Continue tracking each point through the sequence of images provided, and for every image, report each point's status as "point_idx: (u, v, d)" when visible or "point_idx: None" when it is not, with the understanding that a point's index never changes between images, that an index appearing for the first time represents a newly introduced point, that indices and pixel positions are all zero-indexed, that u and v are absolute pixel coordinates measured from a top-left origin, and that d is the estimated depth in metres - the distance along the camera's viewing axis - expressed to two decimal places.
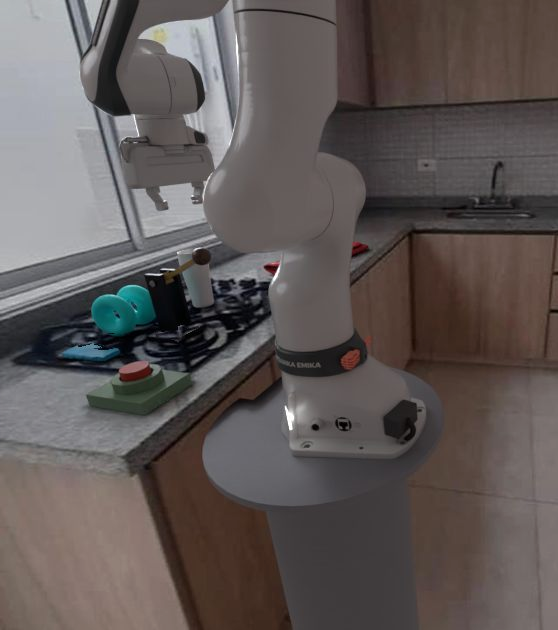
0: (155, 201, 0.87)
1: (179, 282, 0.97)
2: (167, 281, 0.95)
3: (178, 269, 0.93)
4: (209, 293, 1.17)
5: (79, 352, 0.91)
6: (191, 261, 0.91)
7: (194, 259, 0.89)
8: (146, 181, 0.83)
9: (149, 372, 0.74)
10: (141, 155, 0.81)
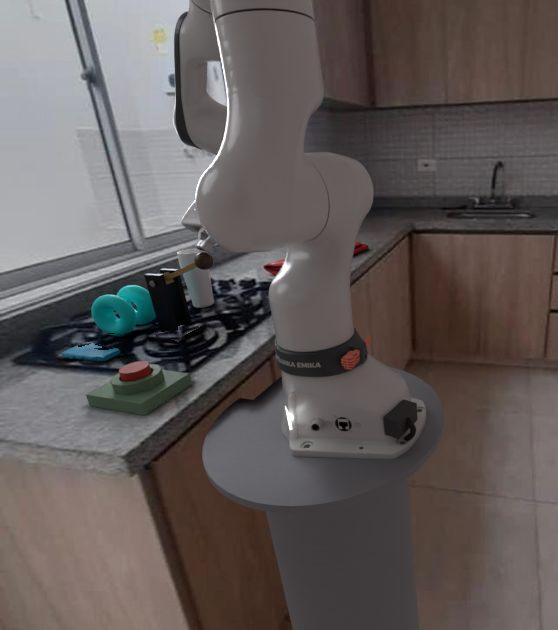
0: None
1: (179, 282, 0.97)
2: (167, 282, 0.95)
3: (179, 271, 0.93)
4: (209, 293, 1.17)
5: (79, 352, 0.91)
6: (193, 264, 0.91)
7: (197, 263, 0.89)
8: (185, 218, 0.94)
9: (149, 372, 0.74)
10: None
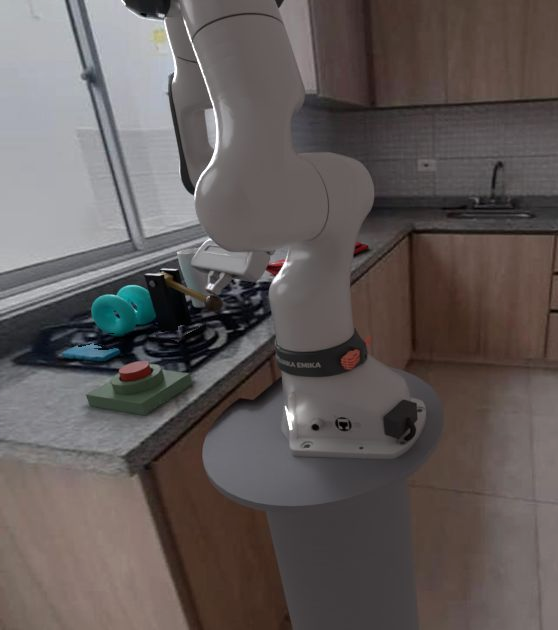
0: None
1: (179, 282, 0.97)
2: None
3: (184, 291, 0.94)
4: (209, 293, 1.17)
5: (79, 352, 0.91)
6: (202, 299, 0.94)
7: (206, 306, 0.93)
8: (194, 261, 0.98)
9: (149, 372, 0.74)
10: (206, 243, 0.99)
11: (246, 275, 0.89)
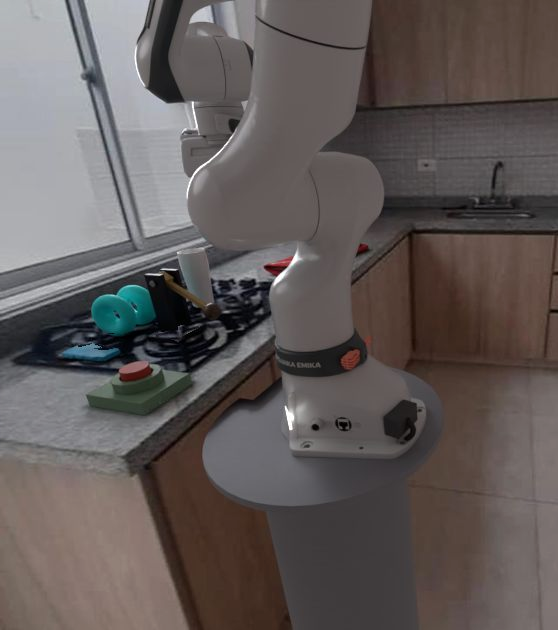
0: None
1: (179, 282, 0.97)
2: None
3: (184, 294, 0.95)
4: (209, 293, 1.17)
5: (79, 352, 0.91)
6: (200, 305, 0.95)
7: (205, 313, 0.93)
8: (189, 171, 0.88)
9: (149, 372, 0.74)
10: (185, 146, 0.86)
11: None
